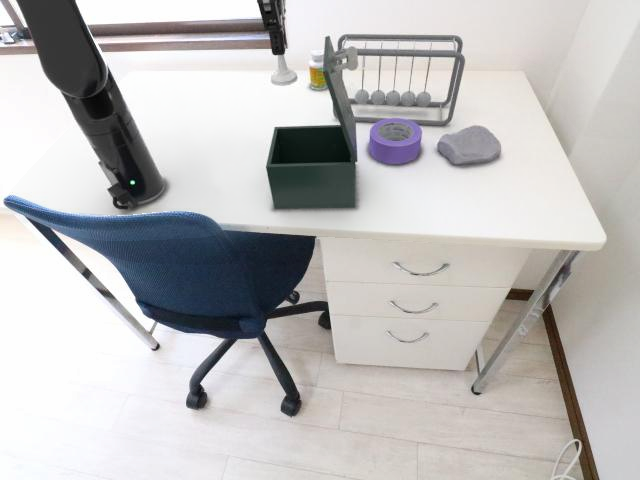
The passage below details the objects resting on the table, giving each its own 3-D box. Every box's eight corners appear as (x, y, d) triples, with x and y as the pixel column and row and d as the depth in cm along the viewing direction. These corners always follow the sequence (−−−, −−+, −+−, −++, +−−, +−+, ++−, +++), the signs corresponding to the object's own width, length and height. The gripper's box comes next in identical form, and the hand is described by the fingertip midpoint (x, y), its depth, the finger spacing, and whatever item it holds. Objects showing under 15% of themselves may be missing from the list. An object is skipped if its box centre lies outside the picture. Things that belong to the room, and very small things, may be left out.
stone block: (500, 163, 85) (476, 134, 90) (509, 148, 81) (483, 118, 86) (455, 178, 83) (433, 148, 88) (462, 164, 79) (438, 132, 84)
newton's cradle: (332, 120, 98) (330, 50, 85) (339, 101, 105) (337, 33, 92) (450, 126, 93) (467, 53, 80) (449, 105, 100) (464, 34, 87)
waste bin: (274, 208, 77) (265, 166, 69) (281, 168, 86) (274, 126, 78) (354, 207, 76) (355, 164, 68) (353, 166, 85) (353, 124, 77)
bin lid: (322, 72, 55) (354, 61, 54) (325, 36, 64) (352, 26, 63) (353, 163, 68) (380, 156, 66) (352, 122, 77) (375, 115, 75)
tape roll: (358, 149, 89) (359, 131, 85) (392, 130, 94) (394, 112, 90) (395, 171, 83) (397, 152, 79) (429, 149, 87) (433, 131, 84)
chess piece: (294, 86, 65) (286, 24, 58) (267, 85, 66) (256, 24, 59) (300, 73, 69) (294, 12, 61) (274, 72, 69) (265, 13, 62)
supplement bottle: (319, 92, 109) (317, 58, 102) (307, 86, 112) (304, 52, 105) (332, 85, 111) (331, 51, 104) (320, 80, 114) (318, 46, 107)
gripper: (242, -88, 56) (263, 36, 68) (224, -70, 46) (252, 70, 59) (292, -92, 55) (303, 34, 68) (284, -74, 46) (299, 67, 59)
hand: (279, 50), depth 64 cm, fingers closed on chess piece
